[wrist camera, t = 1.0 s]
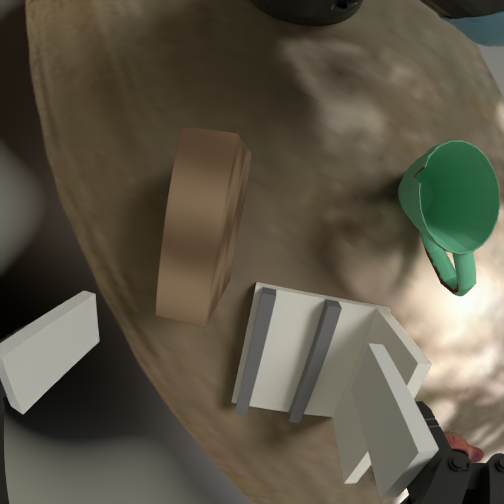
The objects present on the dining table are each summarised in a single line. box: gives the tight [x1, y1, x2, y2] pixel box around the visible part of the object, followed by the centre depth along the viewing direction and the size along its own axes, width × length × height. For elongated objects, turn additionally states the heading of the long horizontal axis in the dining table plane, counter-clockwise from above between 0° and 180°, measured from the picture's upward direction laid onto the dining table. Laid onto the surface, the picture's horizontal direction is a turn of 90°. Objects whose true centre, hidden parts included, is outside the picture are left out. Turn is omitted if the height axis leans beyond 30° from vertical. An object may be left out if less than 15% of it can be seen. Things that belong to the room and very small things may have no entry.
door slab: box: [155, 127, 253, 328], centre depth 26 cm, size 14×4×12 cm, turn 169°
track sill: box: [232, 282, 432, 483], centre depth 28 cm, size 17×16×13 cm
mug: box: [398, 140, 500, 296], centre depth 25 cm, size 15×10×10 cm
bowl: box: [443, 432, 484, 462], centre depth 32 cm, size 16×13×8 cm
